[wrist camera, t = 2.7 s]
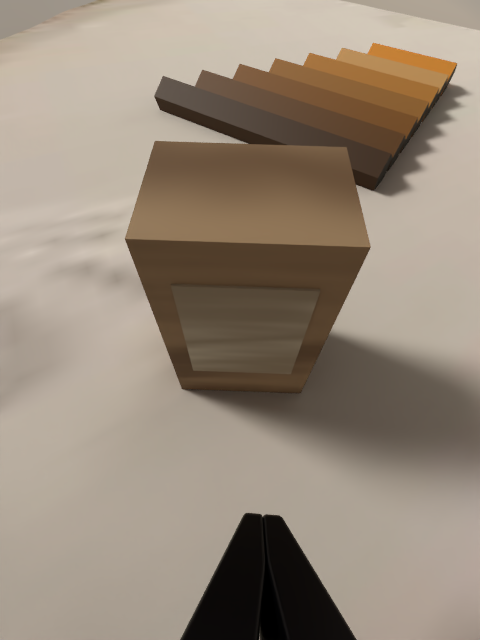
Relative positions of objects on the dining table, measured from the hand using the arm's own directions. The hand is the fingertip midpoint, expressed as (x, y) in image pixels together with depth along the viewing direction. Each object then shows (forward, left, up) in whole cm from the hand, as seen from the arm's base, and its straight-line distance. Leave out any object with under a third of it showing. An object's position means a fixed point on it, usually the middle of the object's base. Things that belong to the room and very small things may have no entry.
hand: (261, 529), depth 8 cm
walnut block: (+9, +1, -10) cm, 14 cm away
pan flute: (+43, -6, -11) cm, 45 cm away
